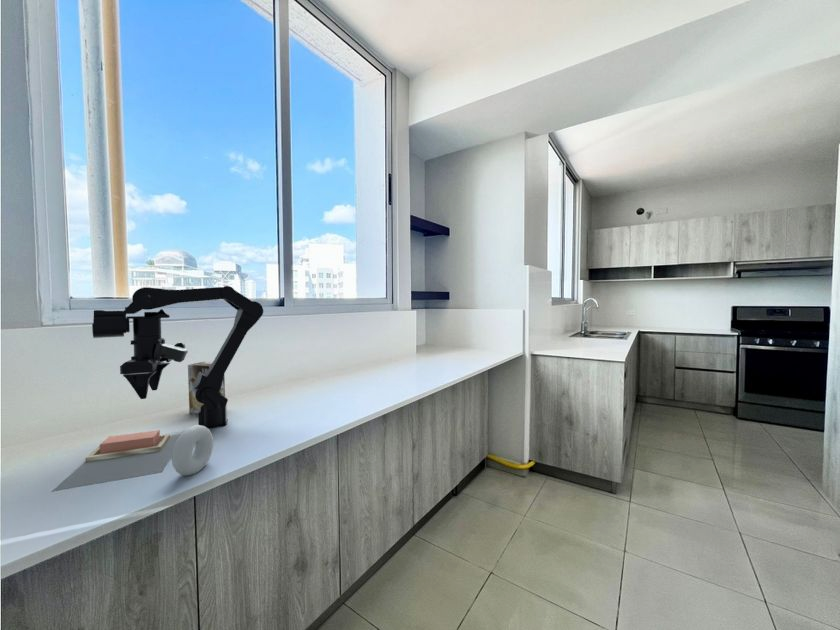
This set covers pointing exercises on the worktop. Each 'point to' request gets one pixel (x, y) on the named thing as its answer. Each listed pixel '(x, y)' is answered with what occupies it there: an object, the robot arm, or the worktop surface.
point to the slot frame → (95, 456)
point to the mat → (120, 467)
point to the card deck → (130, 442)
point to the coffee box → (192, 375)
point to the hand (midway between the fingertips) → (149, 394)
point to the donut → (184, 447)
